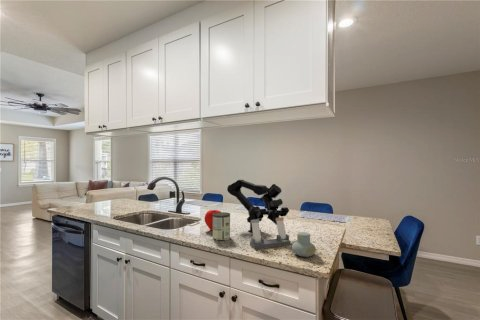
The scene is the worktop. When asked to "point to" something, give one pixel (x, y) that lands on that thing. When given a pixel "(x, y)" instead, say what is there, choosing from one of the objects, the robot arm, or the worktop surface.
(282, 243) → the switch base
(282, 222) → the block
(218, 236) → the coffee can
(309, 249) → the air freshener
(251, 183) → the robot arm
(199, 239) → the worktop surface
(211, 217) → the apple
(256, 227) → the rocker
